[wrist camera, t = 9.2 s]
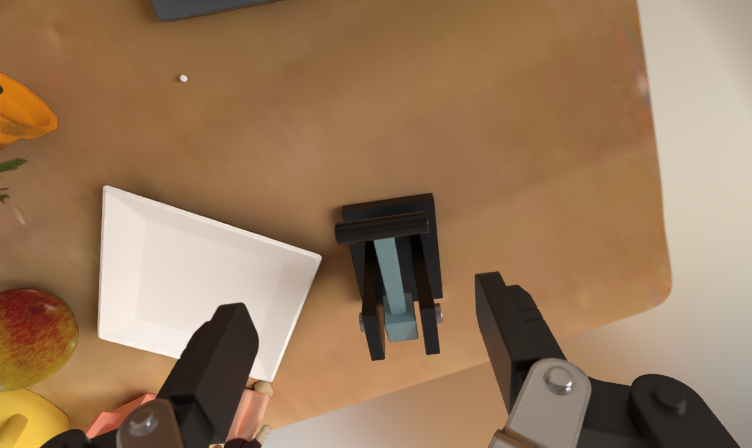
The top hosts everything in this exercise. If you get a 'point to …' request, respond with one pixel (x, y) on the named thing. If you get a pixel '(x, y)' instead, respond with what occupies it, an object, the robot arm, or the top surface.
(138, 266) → the plate
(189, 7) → the control block
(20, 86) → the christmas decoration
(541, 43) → the top surface
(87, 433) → the pink blocky piece
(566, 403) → the robot arm
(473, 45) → the top surface
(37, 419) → the teapot
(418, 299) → the switch bracket
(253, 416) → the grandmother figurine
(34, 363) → the fruit
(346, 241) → the switch lever
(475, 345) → the top surface
